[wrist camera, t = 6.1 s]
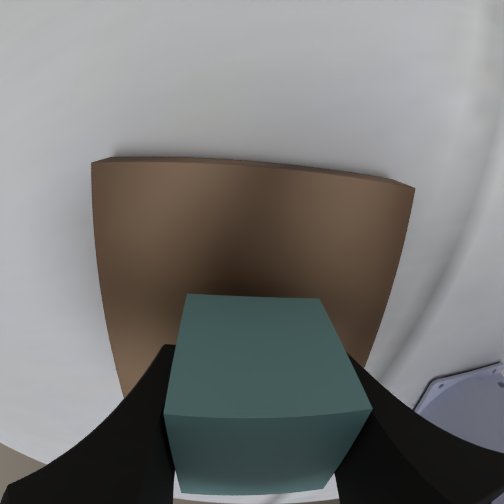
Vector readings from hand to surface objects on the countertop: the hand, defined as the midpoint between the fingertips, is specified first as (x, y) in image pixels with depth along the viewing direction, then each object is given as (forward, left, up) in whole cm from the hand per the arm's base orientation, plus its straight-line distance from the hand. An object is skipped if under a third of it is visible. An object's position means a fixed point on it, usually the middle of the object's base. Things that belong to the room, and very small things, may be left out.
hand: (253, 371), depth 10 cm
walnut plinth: (0, 0, -5) cm, 5 cm away
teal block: (0, 0, -2) cm, 2 cm away
